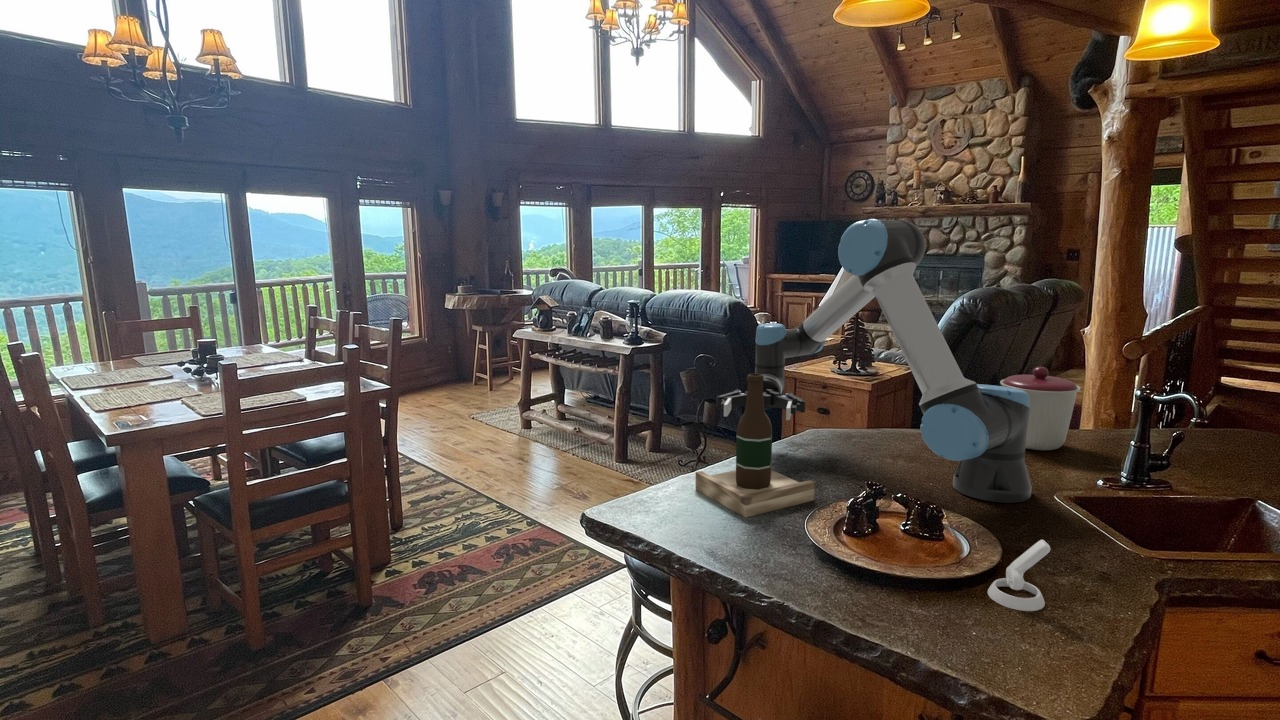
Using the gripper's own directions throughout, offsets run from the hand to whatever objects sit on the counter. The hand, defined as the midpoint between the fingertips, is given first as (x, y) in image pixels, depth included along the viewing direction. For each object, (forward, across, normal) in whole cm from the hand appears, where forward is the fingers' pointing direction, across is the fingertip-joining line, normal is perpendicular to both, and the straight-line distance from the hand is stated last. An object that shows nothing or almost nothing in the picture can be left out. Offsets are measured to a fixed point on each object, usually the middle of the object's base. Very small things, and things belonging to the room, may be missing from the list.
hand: (756, 412), depth 148 cm
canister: (-49, -68, -17) cm, 85 cm away
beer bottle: (+5, 0, -15) cm, 16 cm away
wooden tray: (+5, 0, -17) cm, 18 cm away
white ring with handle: (+38, -44, -17) cm, 60 cm away
